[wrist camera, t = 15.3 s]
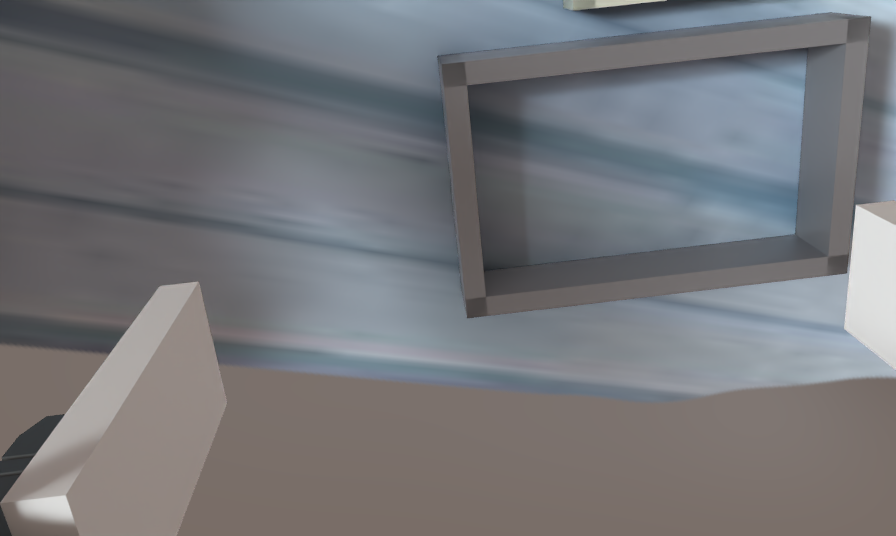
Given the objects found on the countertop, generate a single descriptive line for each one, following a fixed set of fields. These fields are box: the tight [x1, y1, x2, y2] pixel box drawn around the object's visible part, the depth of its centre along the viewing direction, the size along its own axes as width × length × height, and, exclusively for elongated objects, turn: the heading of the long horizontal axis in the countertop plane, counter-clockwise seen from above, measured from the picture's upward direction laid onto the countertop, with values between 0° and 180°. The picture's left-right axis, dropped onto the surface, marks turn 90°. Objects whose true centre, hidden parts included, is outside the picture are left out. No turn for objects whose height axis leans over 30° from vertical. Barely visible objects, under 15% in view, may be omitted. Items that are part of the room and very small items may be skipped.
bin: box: [438, 12, 871, 318], centre depth 45 cm, size 22×14×4 cm, turn 96°
